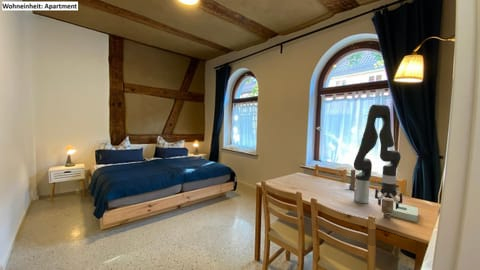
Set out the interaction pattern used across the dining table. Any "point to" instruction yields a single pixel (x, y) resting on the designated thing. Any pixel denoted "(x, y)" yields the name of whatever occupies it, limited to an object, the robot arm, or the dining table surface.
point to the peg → (387, 207)
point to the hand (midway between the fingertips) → (387, 207)
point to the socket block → (405, 212)
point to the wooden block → (352, 180)
